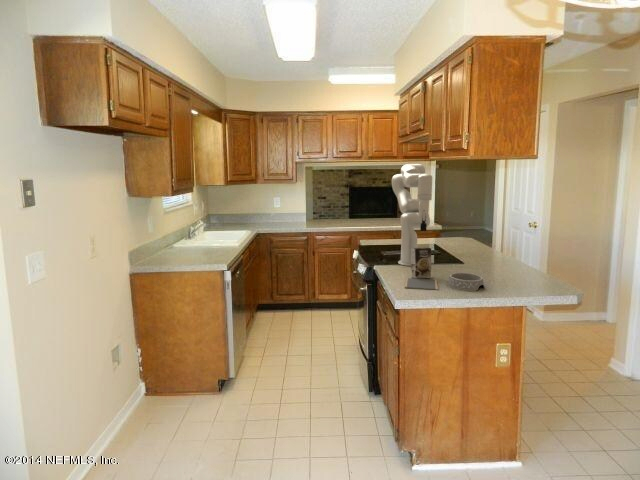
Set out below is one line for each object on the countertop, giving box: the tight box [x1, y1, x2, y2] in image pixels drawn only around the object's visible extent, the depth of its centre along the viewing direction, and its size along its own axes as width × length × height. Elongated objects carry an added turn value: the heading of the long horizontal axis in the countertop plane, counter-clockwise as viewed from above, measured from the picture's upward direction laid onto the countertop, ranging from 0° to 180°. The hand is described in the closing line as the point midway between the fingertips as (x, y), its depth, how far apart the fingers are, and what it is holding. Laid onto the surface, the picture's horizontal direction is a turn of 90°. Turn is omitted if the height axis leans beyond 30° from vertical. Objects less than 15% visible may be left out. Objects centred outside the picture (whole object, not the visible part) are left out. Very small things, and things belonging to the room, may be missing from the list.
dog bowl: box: [446, 272, 485, 292], centre depth 231 cm, size 17×18×5 cm
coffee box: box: [410, 247, 432, 279], centre depth 246 cm, size 9×6×16 cm
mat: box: [404, 277, 439, 291], centre depth 234 cm, size 18×16×1 cm
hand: (423, 230), depth 251 cm, fingers closed
